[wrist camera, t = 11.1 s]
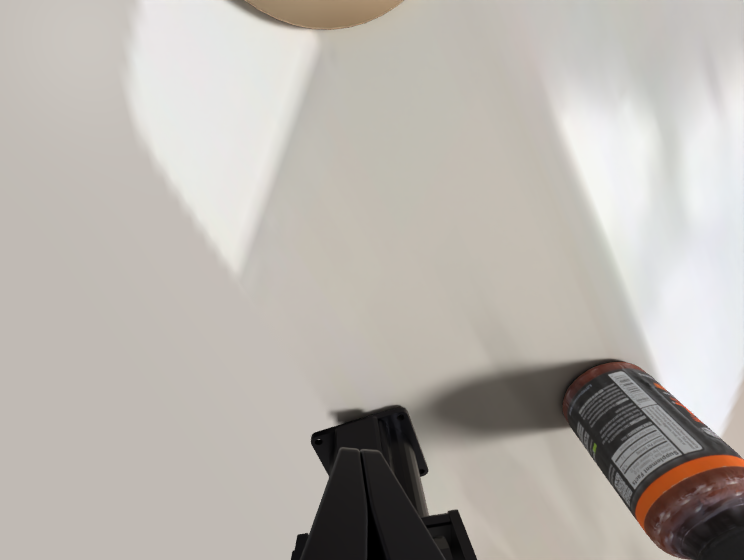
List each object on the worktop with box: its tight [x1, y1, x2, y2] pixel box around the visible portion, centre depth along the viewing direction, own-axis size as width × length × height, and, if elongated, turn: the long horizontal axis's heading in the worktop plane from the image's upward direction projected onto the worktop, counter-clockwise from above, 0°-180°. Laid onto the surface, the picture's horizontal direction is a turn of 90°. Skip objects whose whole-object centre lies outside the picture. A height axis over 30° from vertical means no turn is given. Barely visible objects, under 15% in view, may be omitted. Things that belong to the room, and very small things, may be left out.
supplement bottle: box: [562, 362, 744, 560], centre depth 21 cm, size 6×6×11 cm
